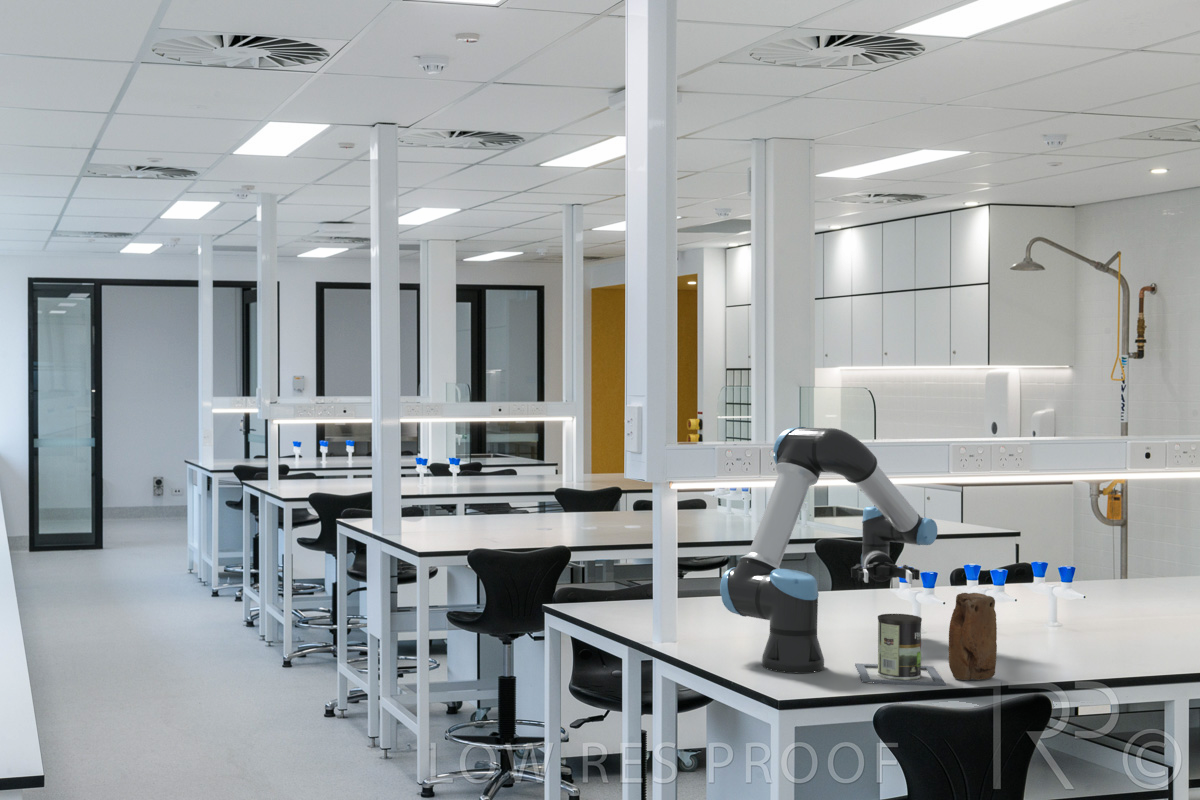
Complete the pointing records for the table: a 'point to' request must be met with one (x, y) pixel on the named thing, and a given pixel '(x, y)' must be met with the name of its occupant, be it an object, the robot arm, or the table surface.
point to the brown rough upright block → (973, 637)
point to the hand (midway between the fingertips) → (888, 578)
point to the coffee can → (899, 646)
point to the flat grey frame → (931, 670)
